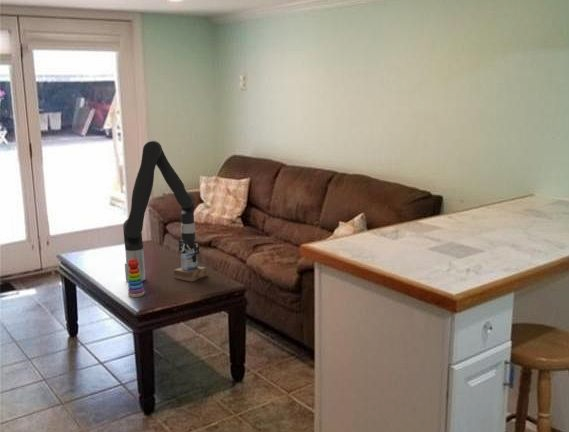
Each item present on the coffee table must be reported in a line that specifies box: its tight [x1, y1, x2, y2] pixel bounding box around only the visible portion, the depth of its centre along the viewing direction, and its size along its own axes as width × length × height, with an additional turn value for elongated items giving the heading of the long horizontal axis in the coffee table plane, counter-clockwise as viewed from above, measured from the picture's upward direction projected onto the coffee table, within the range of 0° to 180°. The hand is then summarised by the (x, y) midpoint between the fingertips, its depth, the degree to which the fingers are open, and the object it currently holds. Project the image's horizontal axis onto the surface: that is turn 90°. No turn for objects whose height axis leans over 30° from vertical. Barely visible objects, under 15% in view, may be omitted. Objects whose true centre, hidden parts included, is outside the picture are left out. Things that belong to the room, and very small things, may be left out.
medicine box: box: [180, 251, 199, 271], centre depth 324 cm, size 8×4×9 cm, turn 138°
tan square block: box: [173, 265, 207, 283], centre depth 325 cm, size 12×12×5 cm
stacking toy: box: [127, 258, 145, 298], centre depth 296 cm, size 8×8×19 cm
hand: (189, 260), depth 324 cm, fingers open, 8 cm apart
